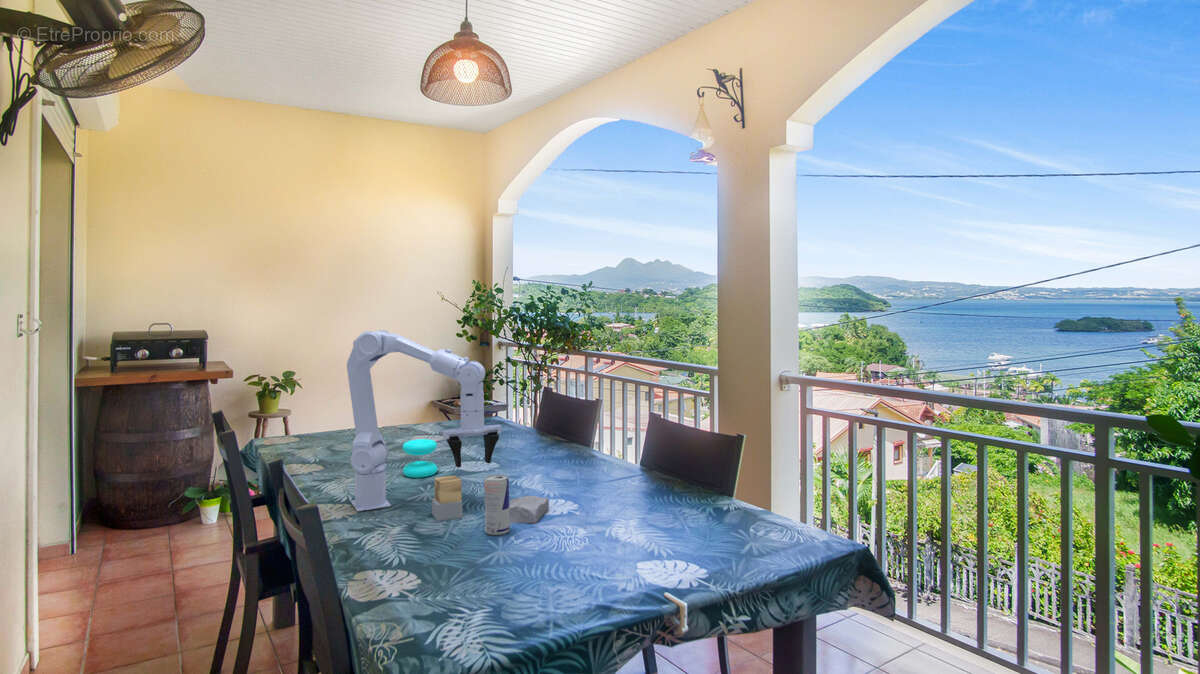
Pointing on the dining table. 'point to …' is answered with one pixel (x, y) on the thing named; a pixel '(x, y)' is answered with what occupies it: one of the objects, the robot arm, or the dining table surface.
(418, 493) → the dining table surface
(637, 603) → the dining table surface
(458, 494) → the wooden cube
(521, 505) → the stone block
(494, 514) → the energy drink
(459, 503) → the grey block
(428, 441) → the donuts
